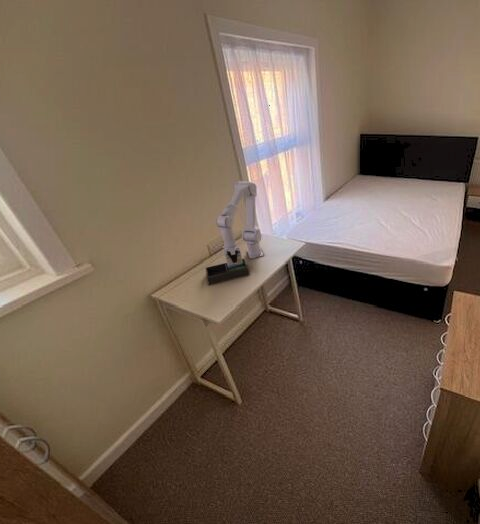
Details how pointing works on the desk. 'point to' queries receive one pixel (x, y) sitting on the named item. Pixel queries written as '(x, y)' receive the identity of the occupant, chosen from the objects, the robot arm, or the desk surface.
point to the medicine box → (229, 261)
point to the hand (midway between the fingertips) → (234, 259)
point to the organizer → (225, 272)
